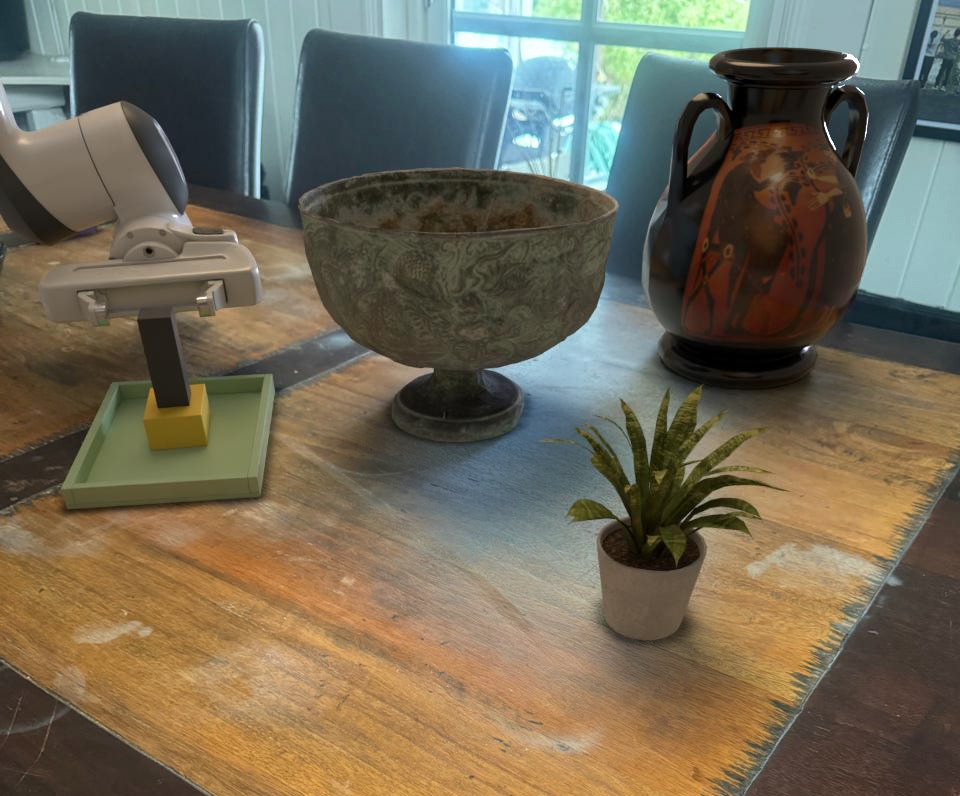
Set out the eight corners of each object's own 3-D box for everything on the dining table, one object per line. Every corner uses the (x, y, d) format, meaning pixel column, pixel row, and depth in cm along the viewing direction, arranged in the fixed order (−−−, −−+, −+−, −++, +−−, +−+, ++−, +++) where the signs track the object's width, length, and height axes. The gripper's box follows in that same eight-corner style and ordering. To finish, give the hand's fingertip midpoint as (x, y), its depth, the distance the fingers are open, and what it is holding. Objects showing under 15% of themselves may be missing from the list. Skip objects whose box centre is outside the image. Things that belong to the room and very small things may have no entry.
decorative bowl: (264, 440, 86) (237, 204, 73) (388, 347, 105) (383, 147, 92) (539, 502, 78) (561, 252, 66) (619, 390, 97) (647, 180, 85)
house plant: (587, 722, 57) (607, 480, 47) (493, 599, 67) (492, 378, 57) (781, 660, 61) (838, 427, 51) (665, 554, 71) (693, 341, 61)
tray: (67, 511, 77) (60, 489, 76) (117, 402, 94) (111, 382, 93) (260, 499, 78) (256, 476, 77) (275, 393, 95) (272, 373, 94)
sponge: (150, 451, 84) (120, 329, 77) (157, 417, 89) (129, 301, 83) (207, 445, 85) (182, 324, 78) (210, 413, 90) (187, 297, 83)
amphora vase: (778, 319, 110) (830, 37, 93) (882, 392, 94) (969, 65, 77) (604, 337, 106) (625, 45, 89) (680, 416, 90) (724, 77, 73)
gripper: (38, 244, 92) (20, 287, 82) (250, 228, 96) (260, 268, 86) (56, 308, 96) (42, 358, 85) (259, 291, 100) (270, 336, 89)
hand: (153, 313), depth 86 cm, fingers open, 8 cm apart
